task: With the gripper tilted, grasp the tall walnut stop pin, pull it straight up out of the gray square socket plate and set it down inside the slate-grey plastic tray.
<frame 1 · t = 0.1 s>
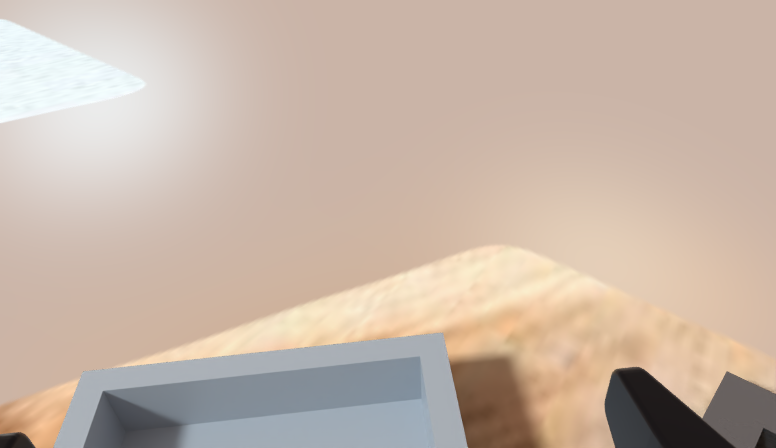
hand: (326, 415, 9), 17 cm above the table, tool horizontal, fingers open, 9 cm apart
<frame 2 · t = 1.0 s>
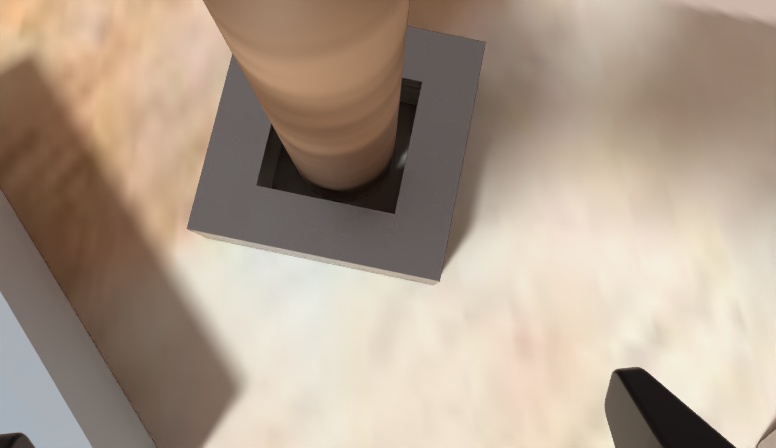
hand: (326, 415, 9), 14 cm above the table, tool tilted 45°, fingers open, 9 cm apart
gray square socket plate: (344, 151, 24), on the table
stop pin: (330, 85, 17), in the gray square socket plate
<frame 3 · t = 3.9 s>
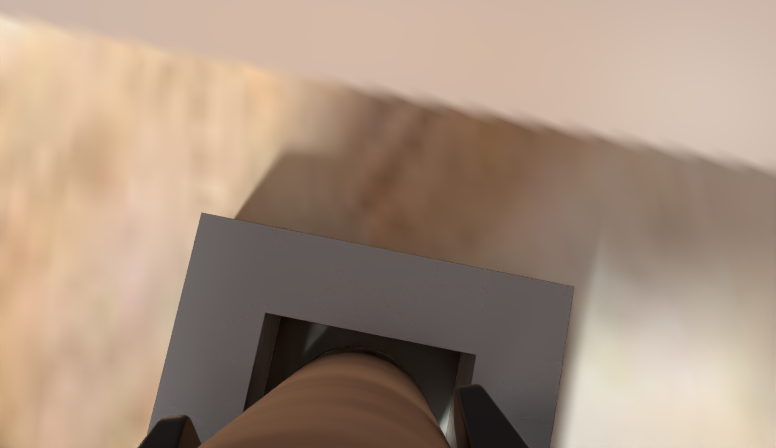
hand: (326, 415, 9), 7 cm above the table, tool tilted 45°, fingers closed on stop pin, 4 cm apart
gray square socket plate: (353, 423, 16), on the table
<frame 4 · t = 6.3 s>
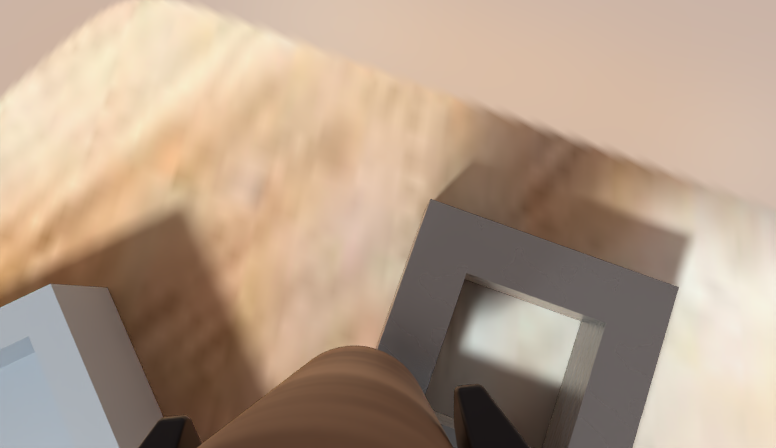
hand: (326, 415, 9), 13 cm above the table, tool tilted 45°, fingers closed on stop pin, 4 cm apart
gray square socket plate: (498, 361, 23), on the table
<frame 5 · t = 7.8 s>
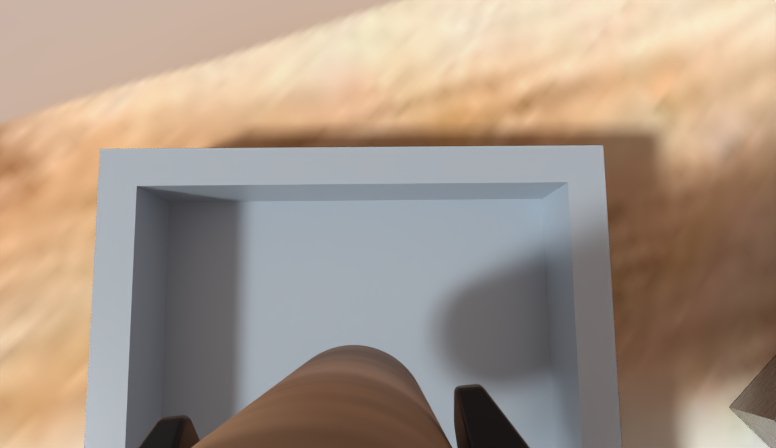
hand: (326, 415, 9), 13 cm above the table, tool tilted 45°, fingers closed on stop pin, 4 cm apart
tray: (358, 388, 22), on the table
when the fingers open (9 cm above the table, at t = 8.8 s): stop pin drops 1 cm, resting on tray.
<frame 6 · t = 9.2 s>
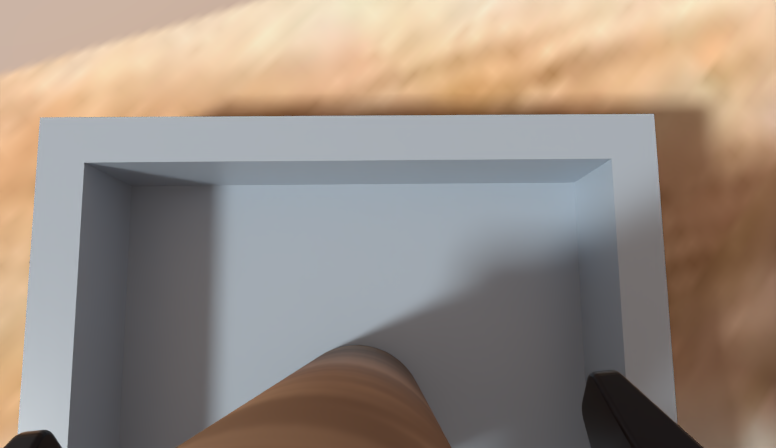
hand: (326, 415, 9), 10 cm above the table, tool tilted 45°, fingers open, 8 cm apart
tray: (356, 407, 19), on the table
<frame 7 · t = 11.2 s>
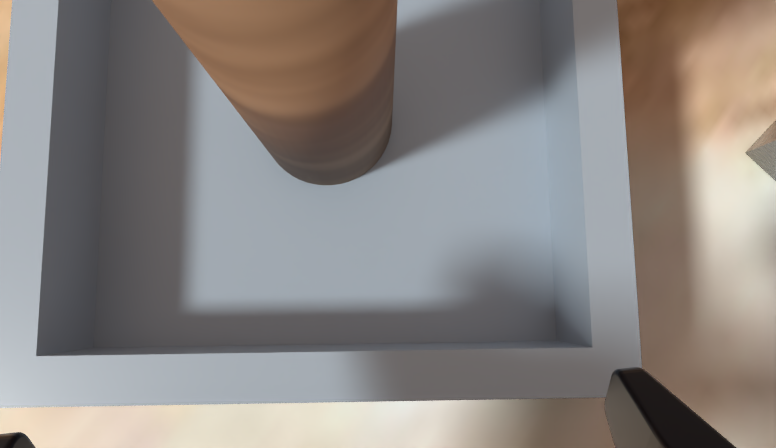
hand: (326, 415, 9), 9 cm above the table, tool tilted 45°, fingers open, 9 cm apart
tray: (329, 129, 20), on the table
stop pin: (293, 14, 12), in the tray, point 8 cm above the table
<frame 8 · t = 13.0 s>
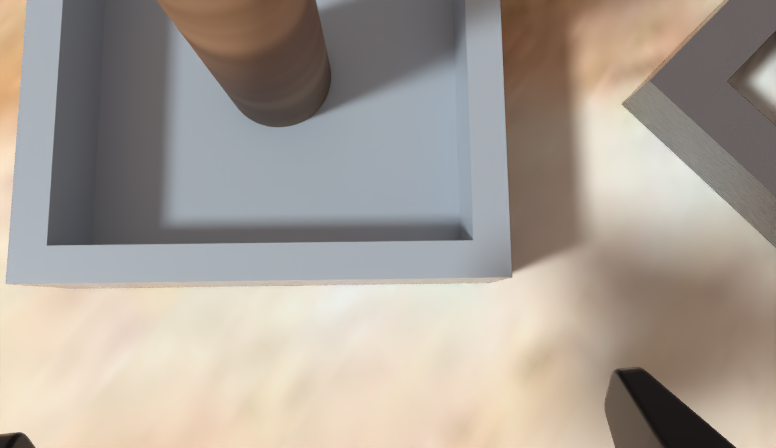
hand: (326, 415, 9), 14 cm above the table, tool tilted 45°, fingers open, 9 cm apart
tray: (283, 85, 24), on the table
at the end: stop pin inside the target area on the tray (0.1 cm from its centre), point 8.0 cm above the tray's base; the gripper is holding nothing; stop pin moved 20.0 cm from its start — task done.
